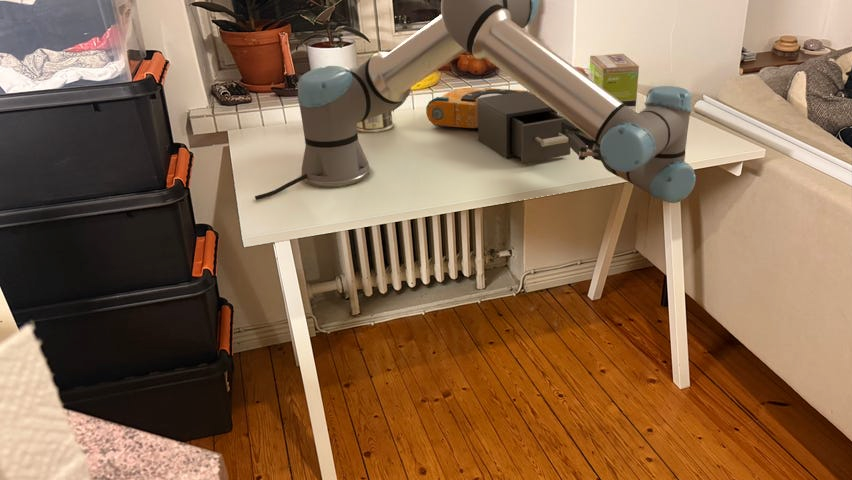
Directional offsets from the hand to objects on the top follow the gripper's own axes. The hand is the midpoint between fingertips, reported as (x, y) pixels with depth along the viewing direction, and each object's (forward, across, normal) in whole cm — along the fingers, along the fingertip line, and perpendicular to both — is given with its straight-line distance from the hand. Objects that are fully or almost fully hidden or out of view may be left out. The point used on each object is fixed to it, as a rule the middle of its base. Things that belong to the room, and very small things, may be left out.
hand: (564, 127), depth 153 cm
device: (+43, +3, -11) cm, 44 cm away
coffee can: (+54, -27, -10) cm, 61 cm away
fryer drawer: (+12, 0, -10) cm, 15 cm away
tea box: (+33, +36, -11) cm, 50 cm away
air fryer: (+22, 0, -10) cm, 24 cm away
